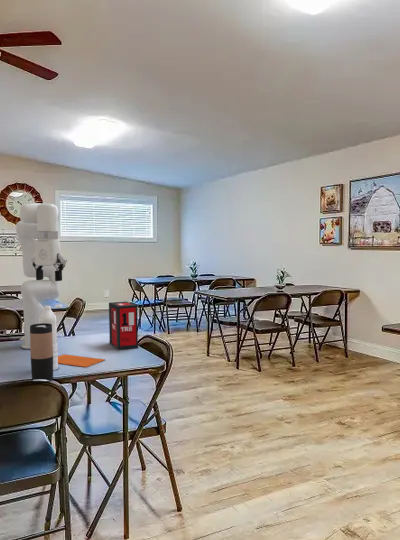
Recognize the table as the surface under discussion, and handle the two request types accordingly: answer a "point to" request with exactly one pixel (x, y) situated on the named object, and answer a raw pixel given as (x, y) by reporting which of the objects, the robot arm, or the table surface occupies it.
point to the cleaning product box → (123, 325)
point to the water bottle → (50, 318)
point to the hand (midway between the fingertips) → (49, 280)
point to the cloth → (78, 360)
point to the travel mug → (41, 351)
